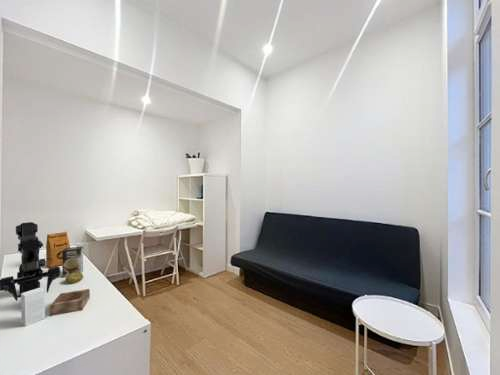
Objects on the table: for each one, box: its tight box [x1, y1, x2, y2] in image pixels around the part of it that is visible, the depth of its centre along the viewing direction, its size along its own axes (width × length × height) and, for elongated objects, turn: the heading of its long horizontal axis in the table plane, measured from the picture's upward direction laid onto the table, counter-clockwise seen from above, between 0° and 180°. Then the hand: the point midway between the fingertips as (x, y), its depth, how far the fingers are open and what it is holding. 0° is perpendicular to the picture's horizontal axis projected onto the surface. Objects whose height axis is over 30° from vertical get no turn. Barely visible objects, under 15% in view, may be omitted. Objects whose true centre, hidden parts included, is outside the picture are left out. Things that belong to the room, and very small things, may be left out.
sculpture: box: [64, 273, 84, 284], centre depth 124 cm, size 8×4×8 cm
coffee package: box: [45, 231, 71, 268], centre depth 150 cm, size 10×12×22 cm
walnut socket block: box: [49, 288, 91, 317], centre depth 98 cm, size 11×11×4 cm
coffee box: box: [61, 245, 84, 278], centre depth 134 cm, size 9×6×16 cm
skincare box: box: [20, 287, 46, 327], centre depth 88 cm, size 6×4×12 cm
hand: (32, 296), depth 93 cm, fingers open, 9 cm apart
